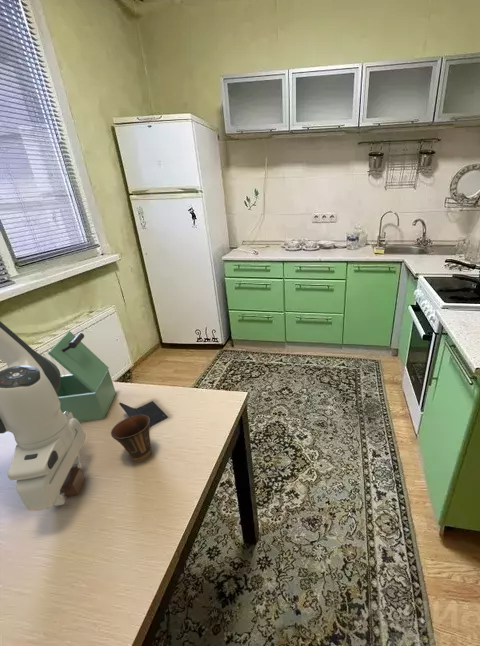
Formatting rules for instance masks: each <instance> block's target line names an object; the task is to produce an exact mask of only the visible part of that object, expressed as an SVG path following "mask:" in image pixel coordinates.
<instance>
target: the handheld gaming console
mask: <svg viewBox="0 0 480 646" xmlns="http://www.w3.org/2000/svg"><path fill="white" fill-rule="evenodd" d="M118 405H119V406H120V407H121V409H122V410H123V411H124V413H126V414H127V416H128V418H129V417H131V416H136V415H146V416H148V417H149V418H150V427H149V428H151V427H154V426H155V425H157V424H159V423H161V422H162V421H165V420H166V419H169V416H168V415H167V414H166V413H165V412H164V410H162V409H161V408H160V407H159V405H157V404H156V402H155V401H154V400H151V401H150V402H147V403H146V404H143V405H141V406H139V407H132V406H130V405H128V404H125V403H123V402H119V403H118Z"/></svg>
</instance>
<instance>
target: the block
mask: <svg viewBox="0 0 480 646" xmlns="http://www.w3.org/2000/svg"><path fill="white" fill-rule="evenodd" d="M85 479H86V477H85V475H84V474H83V471H82V469H81V468H76V469H70V471H69V473H68V475H67V477H66V479H65V481H64V483H63V485H62V487H61V489H60V494H61V493H65V494H66V496H67V497H72V496H78V495H79V493H80V491H81V488H82V487H83V484H84V481H85Z"/></svg>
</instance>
